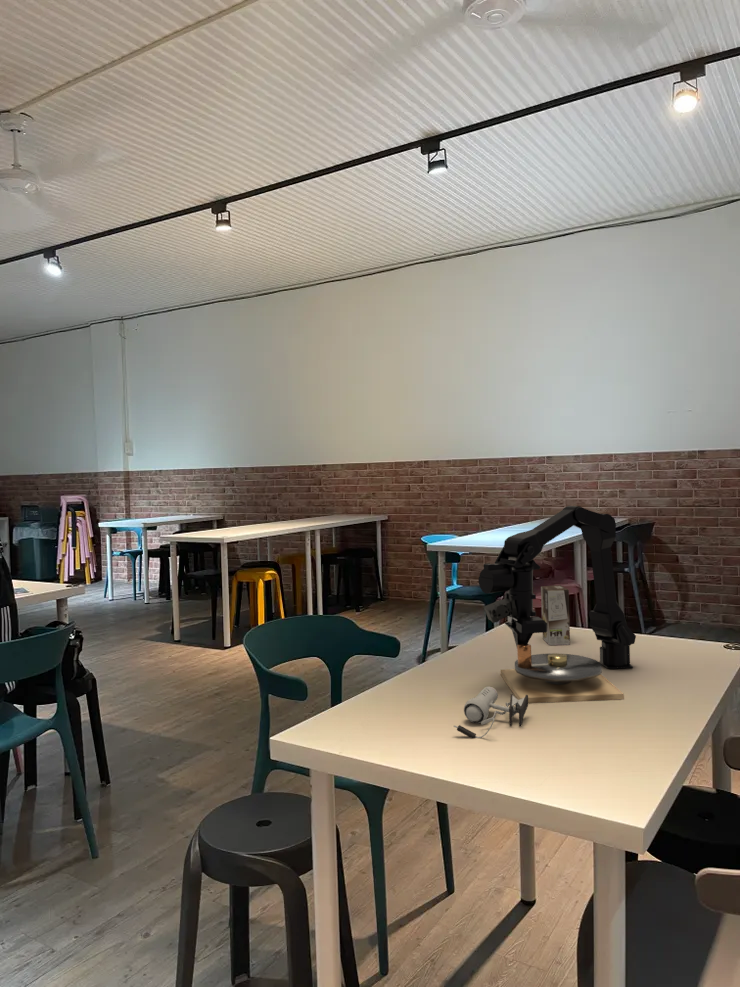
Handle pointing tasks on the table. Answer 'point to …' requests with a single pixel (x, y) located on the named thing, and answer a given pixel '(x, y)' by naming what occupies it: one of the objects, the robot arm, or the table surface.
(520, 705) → the clip-on lamp
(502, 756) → the table surface
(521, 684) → the board
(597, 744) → the table surface
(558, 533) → the robot arm
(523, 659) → the handwheel
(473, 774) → the table surface
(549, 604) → the coffee box
